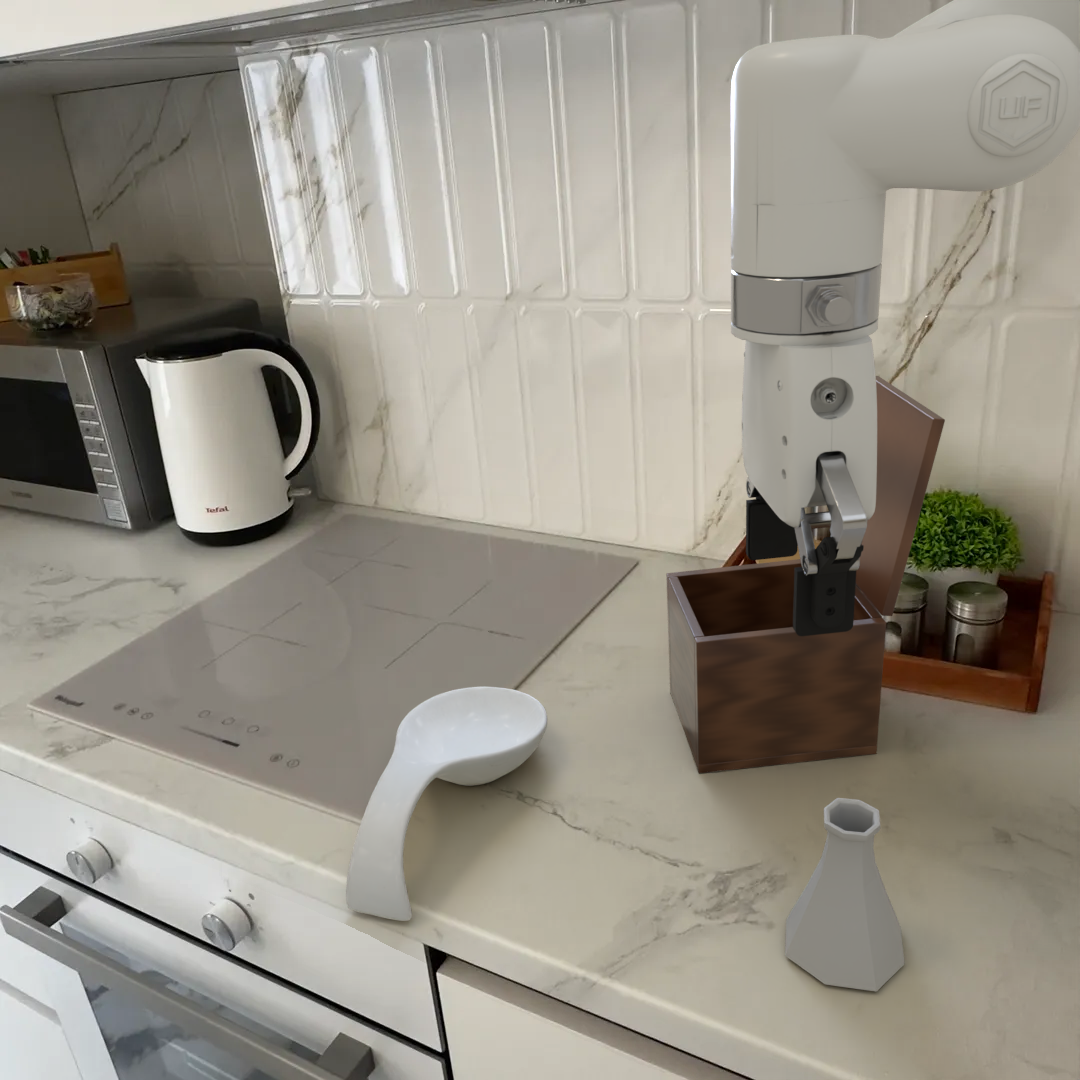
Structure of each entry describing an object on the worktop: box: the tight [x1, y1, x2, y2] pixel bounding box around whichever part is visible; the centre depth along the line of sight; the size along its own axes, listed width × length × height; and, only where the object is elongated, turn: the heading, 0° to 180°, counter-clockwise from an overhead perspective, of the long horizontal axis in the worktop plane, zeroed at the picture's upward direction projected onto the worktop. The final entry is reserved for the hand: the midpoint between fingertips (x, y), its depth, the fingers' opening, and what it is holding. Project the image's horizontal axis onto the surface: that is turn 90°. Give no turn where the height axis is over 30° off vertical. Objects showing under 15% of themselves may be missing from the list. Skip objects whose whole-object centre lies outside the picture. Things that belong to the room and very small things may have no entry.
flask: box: [784, 797, 905, 992], centre depth 58 cm, size 7×7×10 cm
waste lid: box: [856, 375, 946, 617], centre depth 74 cm, size 15×12×1 cm
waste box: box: [665, 558, 887, 774], centre depth 79 cm, size 14×12×12 cm
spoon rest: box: [345, 686, 549, 922], centre depth 73 cm, size 24×12×7 cm, turn 162°
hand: (795, 591), depth 58 cm, fingers open, 9 cm apart
